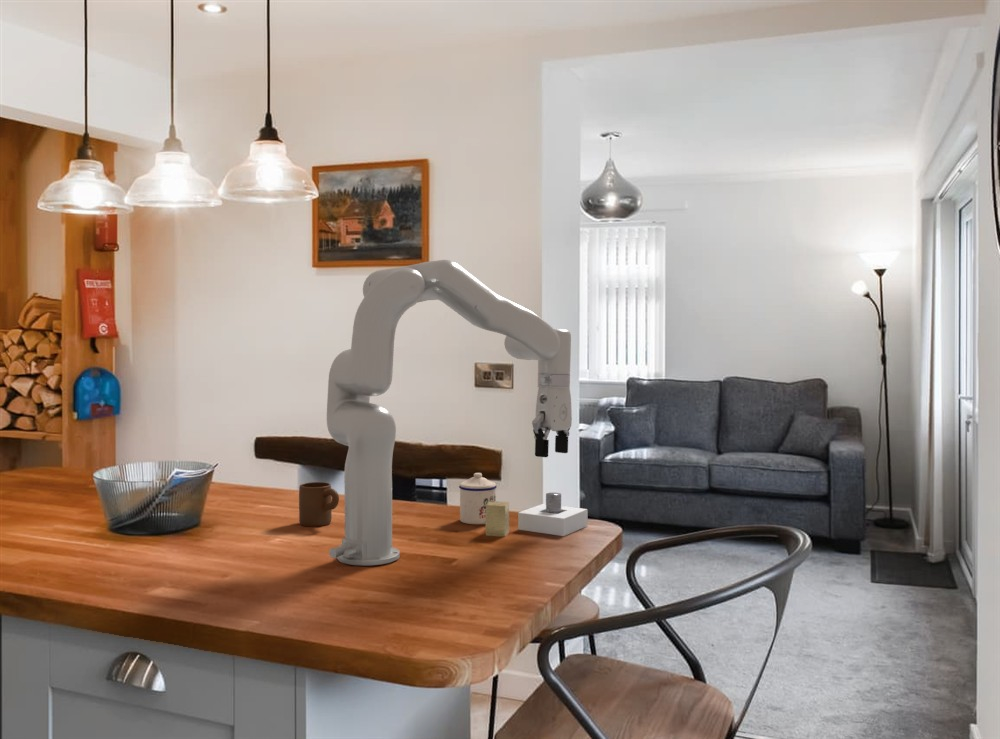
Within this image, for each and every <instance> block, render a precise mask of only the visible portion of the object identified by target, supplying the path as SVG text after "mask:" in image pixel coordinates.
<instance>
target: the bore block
mask: <svg viewBox="0 0 1000 739" xmlns="http://www.w3.org/2000/svg"><path fill="white" fill-rule="evenodd" d="M588 513H589V511H588V509H587V508H582V507H572V506H566V505H565V506H564V505H561V513H559V514H554V513H546V503H541V504H538V505H535V506H533V507H530V508H527V509H524V510H522V511H519V512H518V514H517V516H518V520H517V521H518V525H517V527H518V530H519V531H525V532H534V533H541V534H546V535H554V536H561V537H565V536H568V535H570V534H572V533H574V532H577V531H579V530H581V529H584V528H586V527H588V516H589V515H588Z"/></svg>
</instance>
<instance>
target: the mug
mask: <svg viewBox="0 0 1000 739" xmlns="http://www.w3.org/2000/svg"><path fill="white" fill-rule="evenodd" d="M298 489H299V491H298V506H299V507H298V510H299V511H298V513H299V515H298V516H299V517H298V519H299V524H300V525H301V526H304V527H309V528H310V527H312V528H313V527H324V526H327V525H330V524H331V523H332V517H333V516H332V510H335V509H336V508H337V507H338V505H339V502H340V496H339V492H338V491H337V490H336V489H334V488H332V484H331V483H329V482H324V481H323V482H321V481H319V482H318V481H316V482H315V481H313V482H305V483H301V484H299V487H298Z"/></svg>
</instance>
